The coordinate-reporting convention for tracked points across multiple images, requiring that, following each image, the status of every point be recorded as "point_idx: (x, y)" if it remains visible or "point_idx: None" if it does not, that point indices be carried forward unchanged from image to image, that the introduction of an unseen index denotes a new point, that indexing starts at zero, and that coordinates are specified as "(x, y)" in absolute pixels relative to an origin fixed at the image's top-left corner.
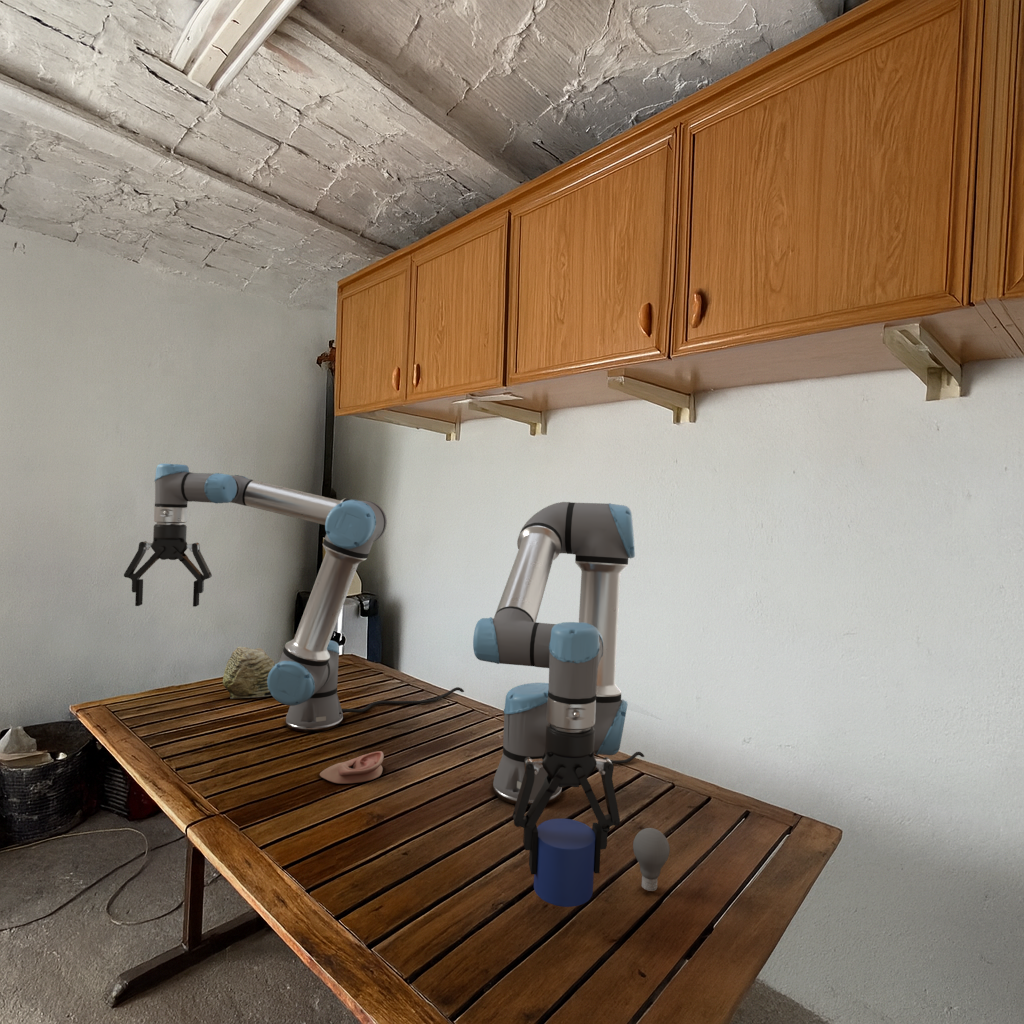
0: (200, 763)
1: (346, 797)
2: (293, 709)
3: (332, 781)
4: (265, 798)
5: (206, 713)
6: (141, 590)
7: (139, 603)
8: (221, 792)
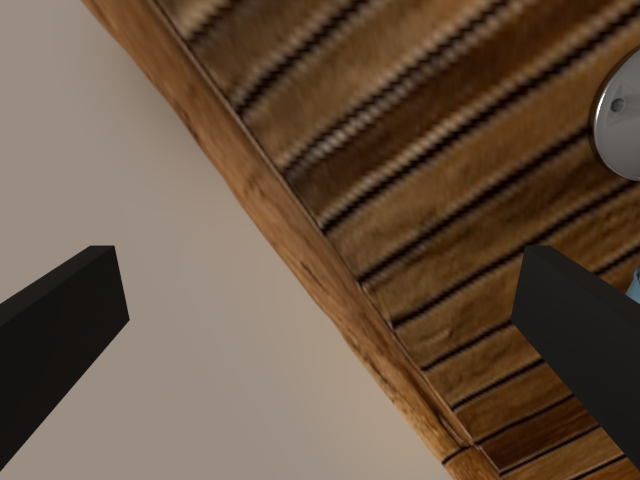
0: (426, 306)
1: None
2: (635, 154)
3: None
4: (529, 417)
5: (387, 6)
6: (39, 343)
7: (117, 311)
8: (471, 398)
